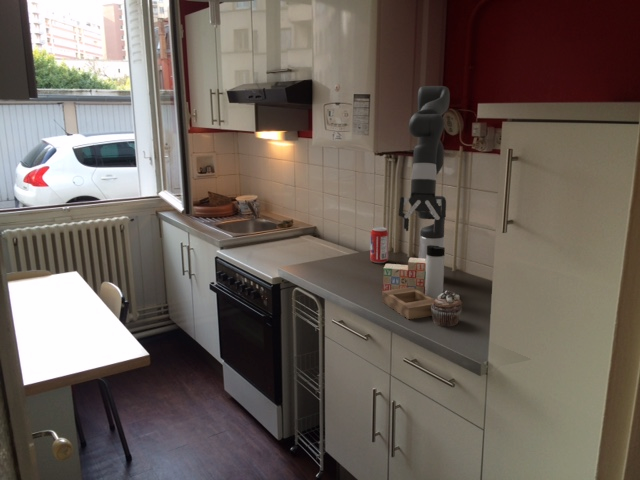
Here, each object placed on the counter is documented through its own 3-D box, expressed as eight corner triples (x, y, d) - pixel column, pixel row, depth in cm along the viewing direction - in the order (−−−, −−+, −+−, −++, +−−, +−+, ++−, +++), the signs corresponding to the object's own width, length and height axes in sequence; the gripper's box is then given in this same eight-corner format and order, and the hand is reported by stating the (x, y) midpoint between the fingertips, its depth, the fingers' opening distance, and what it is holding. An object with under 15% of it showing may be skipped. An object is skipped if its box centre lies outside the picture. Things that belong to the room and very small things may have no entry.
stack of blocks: (382, 291, 206) (383, 260, 203) (385, 286, 212) (385, 255, 209) (440, 296, 201) (442, 264, 198) (441, 290, 207) (443, 259, 204)
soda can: (383, 264, 240) (384, 231, 236) (367, 262, 244) (367, 229, 240) (390, 260, 246) (391, 227, 243) (374, 258, 250) (375, 226, 247)
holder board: (382, 301, 195) (382, 291, 194) (411, 297, 200) (411, 286, 199) (408, 319, 179) (408, 308, 178) (439, 314, 183) (440, 302, 182)
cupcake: (439, 313, 184) (440, 285, 181) (466, 320, 178) (467, 291, 175) (424, 322, 177) (425, 292, 174) (451, 330, 171) (453, 299, 168)
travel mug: (420, 299, 197) (422, 245, 193) (432, 295, 202) (434, 242, 197) (434, 303, 193) (436, 248, 188) (446, 299, 197) (448, 245, 192)
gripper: (445, 181, 172) (443, 233, 172) (400, 179, 174) (397, 230, 174) (448, 178, 165) (445, 232, 165) (400, 176, 167) (397, 230, 167)
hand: (420, 231), depth 170 cm, fingers open, 8 cm apart
